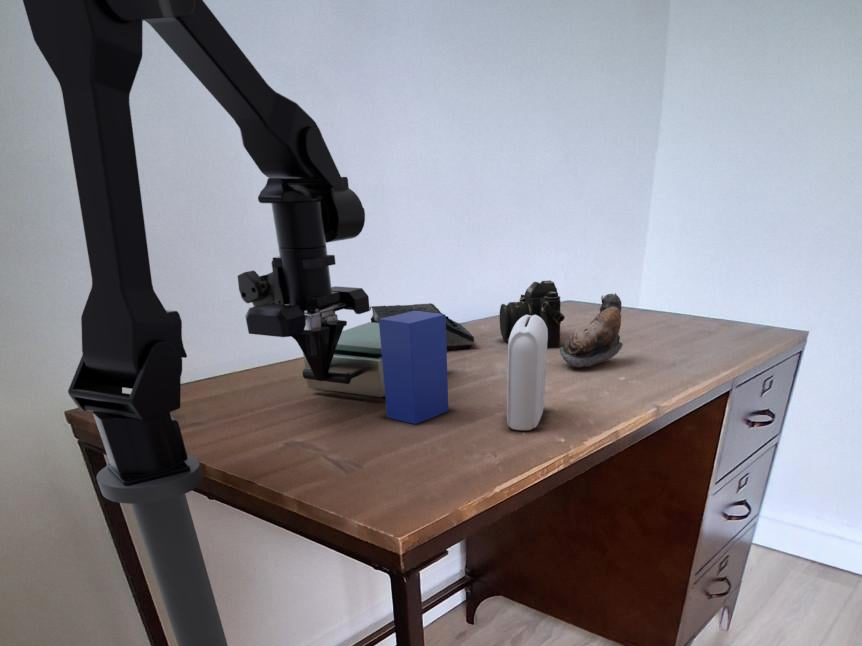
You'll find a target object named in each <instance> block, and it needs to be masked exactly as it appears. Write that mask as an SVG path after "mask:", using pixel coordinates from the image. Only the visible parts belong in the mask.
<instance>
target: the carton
mask: <svg viewBox="0 0 862 646" xmlns="http://www.w3.org/2000/svg"><path fill="white" fill-rule="evenodd" d="M446 316H447V315H446V314H445V313H442V314H438V313H431V312H423V311H411V312H407V313H403V314H398V315H394V316H390V317H385V318H381V319H379V329H380V340H381V352H382V364H383V375H384V387H385V397H384V398H385V411H386V418H387V419H391V420H396V421H401V422H405V423H409V424H412V425H413V424H414V425H418V424H420V423H423V422H426V421H428V420H430V419H433V418H435V417H437V416H440V415H442V414H445V413H447V412H449V382H448V381H449V380H448V379H449V378H448V350H447V346H446Z"/></svg>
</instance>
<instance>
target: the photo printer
mask: <svg viewBox="0 0 862 646" xmlns="http://www.w3.org/2000/svg"><path fill="white" fill-rule="evenodd" d="M547 341H548V330H547V327H546V324H545V322H544V321H543V319H542V318H541V317H539V316H537V315H533V316H530V315H525V316H523V317H521V318H520V319H519V320H518V321H517V322H516V324H515V325H514V327H513V329H512V331H511V334H510V337H509V339H508V343H507V378H506V379H507V381H506V382H507V383H506V423H507V427H508V428H510V429H511V430H515V431H531V430H533V429H535V428H536V427H538V425H539V423H540V421H541V418H542V416H543V413H544V408H545V400H546V399H545V398H546V377H547V355H548V347H547Z"/></svg>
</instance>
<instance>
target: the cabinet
mask: <svg viewBox="0 0 862 646" xmlns="http://www.w3.org/2000/svg"><path fill="white" fill-rule="evenodd" d="M335 350H343V351H353V352H363V353H372V354H382V352H381V340H380V329H379V323H372V322H371V321H370V322H368V321H367V322H366V323H363V324H359V325H356V326H353V327H351V328H348V329H345V330H344V329H343V330H342V333H341V336H340V338H339V341H338V344H337V347H336V349H335ZM381 398H385V395H384V396H382V397H381Z"/></svg>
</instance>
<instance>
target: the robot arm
mask: <svg viewBox="0 0 862 646" xmlns="http://www.w3.org/2000/svg"><path fill="white" fill-rule="evenodd" d="M22 3H23V7H24V10H25V13H26V16H27V17H26V18H27V21H28V24H29V28H30V30H31V34H32V37H33V40H34V43H35V44H36V46H37V48H38V50H39V51H40V53H41V54H42V57H43V58H44V60H45V61H46V63H47V64H48V66H49V68H50V70H51V72H52V73H53V74H54V76H55V78H56V80H57V82H58V84H59V86H60V90H61V95H62V101H63V106H64V107H63V108H64V114H65V120H66V125H67V132H68V137H69V145H70V149H71V157H72V164H73V169H74V176H75V182H76V187H77V194H78V200H79V207H80V213H81V218H82V220H81V221H82V226H83V231H84V238H85V245H86V250H87V256H88V263H89V269H90V276H91V288H90V292H89V294H88V297H87V299H86V302H85V305H84V308H83V311H82V313H81V317H80V323H81V324H80V325H81V352H82V353H81V354H82V355H81V357H80V360H79V363H78V364H77V367H76V370H75V373H74V375H73V378H72V379H71V383H70V385H69V387H68V389H67V393H68V395H69V397H70V399H71V400H72V401H73V402H74V404H75V405H76V407H77V408H78V409H79V410H80V411H83V412H92V415H93V418H94V421H95V423H96V427H97V429H98V432H99V436H100V439H101V441H102V444H103V447H104V450H105V453H106V456H107V459H108V462H109V463H107V464H106V466H107V467H108V469H109V470H110V471H111V473H112V474H113V475H114V476H115V477H116V478H117V479H118V480H119V481H120V482H121V483H122V484H123V485H124V486H130V485H134V484H139V483H143V482H147V481H151V480H155V479H159V478H163V477H167V476H172V475H176V474H180V473H184V472H188V471H190V466H189V465H188V464H187V463H186V462H184V461H186V460H187V459H188V456H187V449H186V446H185V442H184V438H183V434H182V429H181V427H180V424H179V421H178V420H177V419H175V418H174V417H173V416H172V415H171V412H174V411H176V410H180V409H181V388H182V387H181V386H182V385H181V382H182V381H181V379H182V378H181V377H182V374H183V359H186V358H188V354H187V352H186V350H185V347H184V342H183V327H182V326H183V322H182V317H181V315H180V313H179V311H177V310H170V309H166V308H165V306H164V305H163V303H162V302H161V300H160V299H159V297H158V295H157V293H156V292H155V290H154V285H153V278H152V272H151V263H150V255H149V247H148V240H147V239H148V238H147V231H146V223H145V216H144V215H145V214H144V208H143V200H142V199H143V198H142V192H141V184H140V183H141V182H140V176H139V168H138V167H139V166H138V159H137V154H136V153H137V152H136V145H135V136H134V128H133V121H132V112H131V103H130V102H131V101H130V96H131V92H132V89H133V86H134V83H135V80H136V77H137V74H138V72H139V68H140V66H141V62H142V59H143V54H144V53H143V51H144V50H143V49H144V47H143V46H144V43H143V41H144V39H143V38H144V37H143V36H144V34H143V33H144V32H143V28H144V27H143V24H144V23H143V22H146V23H147V24H148V25H149V26H150V27H151V28H152V29H153V30H154V31H155V32H156V33H157V34H158V36H159V37H160V38H161V39H162V40H163V42H164V43H166V45H167V46H168V47H169V49H171V50H172V51H173V53H174V54H175V55H176V56H177V57H178V58H179V60H180V61H181V62H182V63H183V64H184V65H185V66H186V67H187V69H188V70H189V71H190V72H191V73H192V74H193V75H194V77H195V78H196V79H198V81H199V82H200V83H201V85H203V87H204V88H205V89H206V90H207V91H208V92H209V93H210V94H211V96H212V97H213V98H214V99H215V100H216V101H217V102H218V103H219V104H220V106H221V107H222V108H223V109H224V110H225V112H227V114H228V115H229V116H230V118H232V119H233V121H234V122H235V124H236V125H237V127H238V128H239V132H240V137H241V142H242V146H243V147H244V149H245V151H246V152H247V154H248V155H249V157H250V158H251V160H252V161H253V163H254V164H255V165H256V166H257V168H258V169H259V171H260V172H261V173H262V174H263V175H264V176H266V177H267V180H266V184H265V186H264V187H263V188H262V190H261V191H260V192H259V194H258V196H257V201H258V202H259V203H260V204H270V205H271V211H272V216H273V221H274V222H273V223H274V228H275V235H276V242H277V247H278V254H279V256H273V257H272V260H271V269H272V271H271V272H269V273H267V274H262V275H260V274H259V273H258V272H257V271H255V270H249V271H244V272H242V273H240V274H238V275H237V284H238V291H239V293H240V297H241V299H242V300H243V302H244V303H246V304H251V303H252V305H253V306H252V307H249V308H248V310H247V312H246V313H245V316H244V317H245V322H246V328H247V332H248V334H249V335H259V336H268V337H277V338H278V337H280V338H289V337H291V338H292V339H293V340H294V341H295V342H296V343H297V345H298V346H299V348H300V350H301V351H302V354H303V353H304V355H305V358H306V360H307V362H308V364H309V366H310V368H311V370H312V372H313V374H314V376H315V378H316V380H317V381H324V380H326V378H327V375H328V372H329V369H330V365H331V362H332V359H333V356H334V353H335V349H336V347H337V344H338V341H339V338H340V336H341V333H342V331H344V328H345V327H346V326H347V324H348V322H347V320H343V319H339V317H338V314H337V313H336V312H338V311H341V310H348V311H353V312H354V313H355V314H356V315H361V314H365V313H368V312H370V311H371V310H370V307H371V306H370V299H369V295H368V293H366V291H365V290H364V289H363V288H362V287H350V286H336V285H335V286H332V281H331V272H330V266H334V265H337V264H336V256H335V254H328V251H327V244H328V243H333V242H339V241H345V240H346V241H347V240H351V239H354V238H356V237H358V236H359V235H360V234H361V233H362V231H363V229H364V226H365V222H366V211H365V208H364V206H363V203H362V201H361V199H360V198H359V196H358V194H357V193H356V192H355V191H354V190H353V189H351V188H350V187H349V186H350V185H349V178H348V176H342V175H341V174H340V171H339V169H338V167H337V165H336V162H335V161H334V158H333V156H332V154H331V152H330V149H329V148H328V146H327V143H326V141H325V139H324V137H323V134H322V131H321V128H320V127H319V126H318V124H317V123H316V121H315V120H314V119H313V118H312V117H311V116H310V115H309V114H308V113H307V112H306V110H304V109H303V108H302V107H301V105H299V104H298V103H297V102H296V101H295V100H292V99H290V98H288V97H287V96H284V95H282V94H281V93H280V92H277V91H275V90H274V89H273V88H272V87H271V85H269V84H268V83H267V81H266V80H265V79H264V78H263V76H262V75H261V74H260V72H259V71H258V69H257V68H256V66H254V64H253V63H252V62H251V61H250V59H249V58H248V57H247V56H246V54H245V53H244V51H242V49H241V48H240V46H239V45H238V44H237V43H236V41H235V40H234V38H233V37H232V36H231V35H230V34H229V32H228V31H227V29H226V28H225V27H224V26H223V24H222V23H221V22H220V20H219V19H218V18H217V17H216V16H215V14H214V12H212V10H211V9H210V8H209V6H208V5H207V4H206V2H205V1H204V0H22ZM123 388H125V389H131V392H130V393H126V392H123Z"/></svg>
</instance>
